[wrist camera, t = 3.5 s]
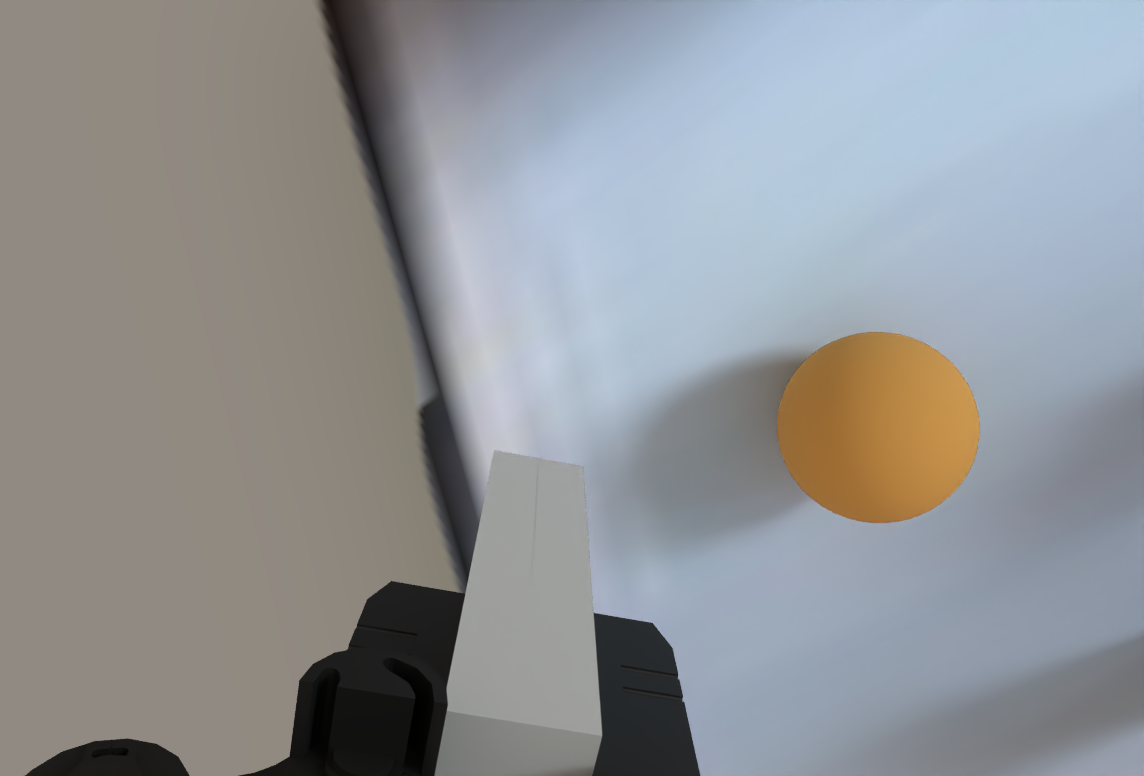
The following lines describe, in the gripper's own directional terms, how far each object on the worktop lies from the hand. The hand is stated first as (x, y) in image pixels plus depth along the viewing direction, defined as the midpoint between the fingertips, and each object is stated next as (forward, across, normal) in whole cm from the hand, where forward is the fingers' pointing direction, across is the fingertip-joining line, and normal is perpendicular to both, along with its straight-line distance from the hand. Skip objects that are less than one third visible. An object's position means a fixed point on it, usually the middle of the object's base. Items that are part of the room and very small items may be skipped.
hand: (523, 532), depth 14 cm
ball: (+10, +10, 0) cm, 14 cm away
